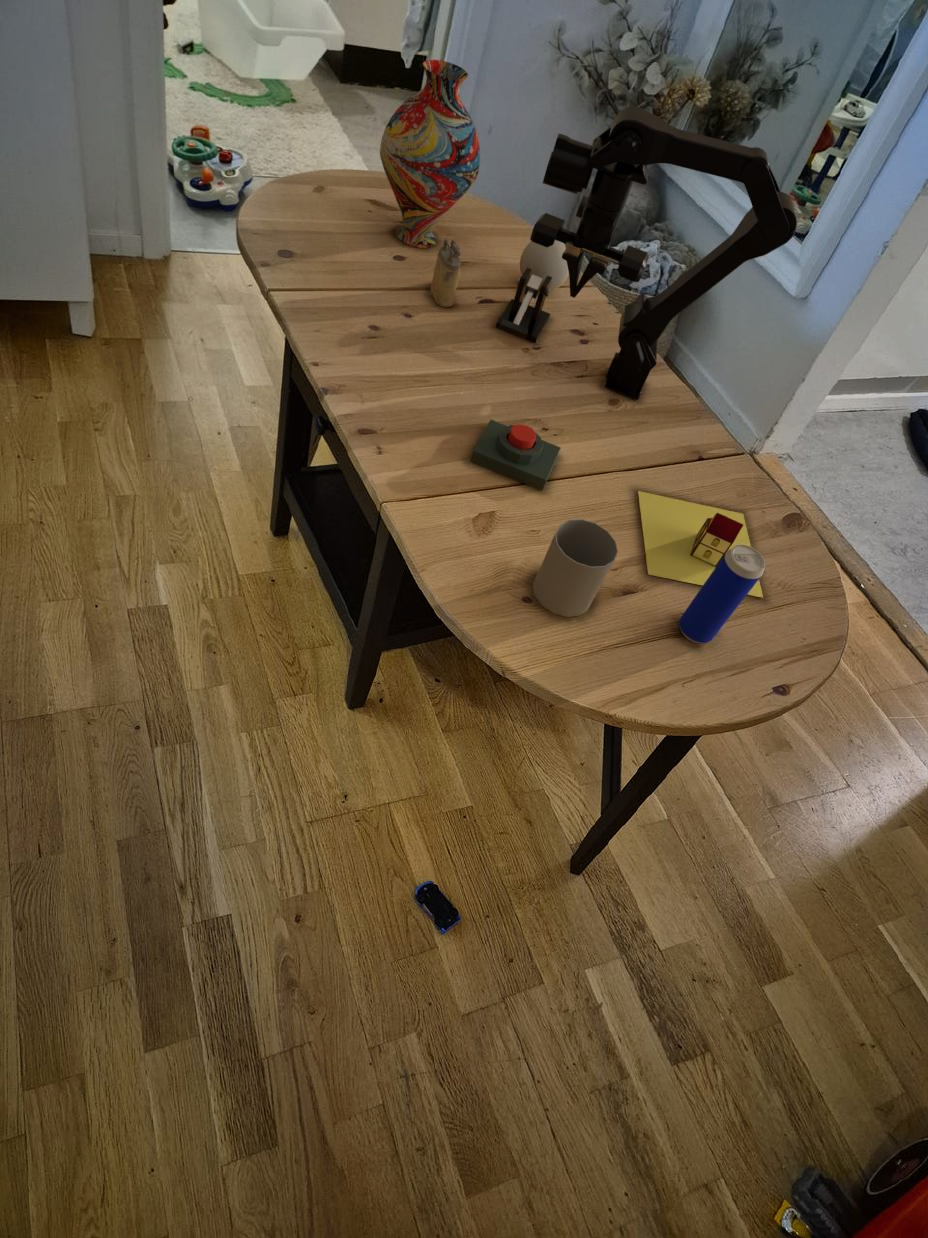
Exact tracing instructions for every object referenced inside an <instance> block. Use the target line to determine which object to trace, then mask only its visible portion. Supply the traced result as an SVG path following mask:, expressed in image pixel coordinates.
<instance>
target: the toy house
mask: <svg viewBox="0 0 928 1238" xmlns="http://www.w3.org/2000/svg"><path fill="white" fill-rule="evenodd" d="M743 527H744V524H743V523H741V522H739V521H737V520H735V519H732V518H730V517H728V516H726V515H724V514H722V513H719V512H716V513H715V514H714V515H713V517H707V518H706V520H705V521H704V523H703V524H702V526H701V527H700V529H699V531H698V532H697V534H696V539H695V541H694V543H693V546H692V547H693V548H692V549H691V550H692V551H691V552H690V555H691V556H693V557H695V558H696V559H699V560H702V561H703V562H706V563H708V564H709V565H712V566H715V567H716V566H717V565H718V563H719V562H720V560H721V559H722V558H723V556H724V555H725V553H726V552H727V551H728V550H729V549H731V548H732V545H733V544H734V542H735V541H736V539H737V537H738V535H739V534H740V532H741V530H742V528H743Z"/></svg>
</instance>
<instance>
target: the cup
mask: <svg viewBox="0 0 928 1238" xmlns="http://www.w3.org/2000/svg"><path fill="white" fill-rule="evenodd" d="M618 553H619V548H618V544H617V541H616V539H615V538H614V536H612V535H611V533H610V532H609V530H607V529H605V528H604V527H602V526H601V525H599V524H598V523H596V522H593V521H590V520H587V519H583V518H578V519H568V520H566V521H564V522H562V523H560V524H559V525H558V527H557V529H556V531H555V533H554V535H553V537H552V540H551V542H550V544H549V546H548V549H547V551H546V553H545V555H544V558H543V559H542V562H541V564H540V566H539V569H538V571H537V574H536V576H535V578H534V580H533V583H532V590H533V594H534V597H535V598H536V600H537V601H538V602H539V604H540V605H541V606H542V607H543V608H545V609H546V610H547V611H549V612H551V614H555V615H558V616H562V617H565V618H568V617H569V618H570V617H580V616H581V615H582V614H584V613H585V612H588V611H589V609H590V607H591V605H592V603H593V601H594V600H595V598H596V596H597V594H598V592H599V591H600V588H601V586H602V585H603V583H604V581H605V579H606V577H607V576H608V574H609V572H610V570H611V568H612V566H613V565H614V563H615V560H616V558H617V557H618Z"/></svg>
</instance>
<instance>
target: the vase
mask: <svg viewBox="0 0 928 1238" xmlns="http://www.w3.org/2000/svg"><path fill="white" fill-rule="evenodd" d="M422 66H423V69H424V72H425V75H426V80H425V84H424V86H423V88H422V89H420V90H419V91H418V92H416V93H415V94H413V95H412V96H410V97H408V98H407V99H406V100H405V101H403V102H402V103H401V105H400V106H398V108H396V110H395V111H394V112H393V114H392V115H391V116H390V118H389V120H388V122H387V124H386V126H385V128H384V131H383V133H382V136H381V141H380V146H379V157H380V160H381V164H382V168H383V170H384V173H385V175H386V178H387V181H388V183H389V185H390V188H391V190H392V193H393V195H394V198H395V201H396V202H397V206H398V208H399V211H400V214H401V219H402V226H399V227H398V228H397V229H396V230H395V235H396V238H398V240H400V241H401V242H403V243H404V244H406V245H408V246H411V247H415V248H420V249H421V248H422V249H426V248H431V247H434V246H435V245H437V237H436V236H435V235H434V233H433V230H434V229H435V227H436V225H437V224H438V222H440V220H441V219H442V218H443V217H444V216H445V215H446V214H447V213H448V212H449V211H450V210H451V209H452V207H453V206H455V204H456V203H458V201H459V200H460V199H462V197H464V195H466V193H467V192H468V191H469V190H470V188H471V187H472V186H473V185H474V184H475V182H476V180H477V179H478V175H479V171H480V164H481V148H480V141H479V136H478V133H477V129H476V126H475V123H474V121H473V119H472V117H471V116H470V113H469V111H468V110H467V108H466V107H465V105H464V104H463V101H462V100H461V97H460V89H461V86H462V84H463V83H464V82H465V81H466V80H467V79H468V77H469V74H468V72H467V71H466V70H465V69H464V68H462V67H461V66H459V65H457V64H455V63H453V62H449V61H445V60H440V59H427V60H424V61H423V63H422Z"/></svg>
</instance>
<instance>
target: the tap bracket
mask: <svg viewBox="0 0 928 1238" xmlns="http://www.w3.org/2000/svg"><path fill="white" fill-rule="evenodd" d="M531 271H532V269H530V268H526V270H525V271H524V273H523V274H522V275H521V276H519V277H518V279H517V283H516V285H517V288H516V291H515V294H514V298H511V299H510V301H509V302H508V304H507V305H506V307H505V308H504V310H503V312H502V313H501V315H500V316H499V318H498V319H497V321H496V323H495V327H494V328H495V329H497V330H500V331H503V332H505V333H508V334H510V335H512V336H515V337H518V338H520V339H523V340H525V341H527V342H530V343H533V344H536V343H537V341H538V339H539V338H540V336H541V333H542V332H543V330H544V329H545V327H546V325H547V323H548V321H549V319H550V317H551V313H549V312H548V311H544V310H543V307H544V305H545V302H546V299H547V297H549V295H550V292H551V291H550V288H549V287H550V283H551V280H552V277H550V276H547V277H546V279H545V280H544V282H543V284H542V285H541V288H540V291H539V293H538V295H537V297H536V302H535V305H534V306H532V305H529V306H528V308H527V310H526V312H525V314H524V317H523V319H522V321H521V323H520V326H523V327H525V328H528V329H529V330H528V334H527V336H526V338H525V339H524V338H521V337H519V336H516V335H514V334H511V333H509V332H506V331H504V330H501V329H499V328H500V323H501V321H502V319H505V320H507V321H510V322H512V323H513V322H514V320H515V318H516V315H517V313H518V311H519V309H520V307H521V305H522V303H523V300H524V298H525V290H526V286H527V284H528V281H529V278H530V274H531Z"/></svg>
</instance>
